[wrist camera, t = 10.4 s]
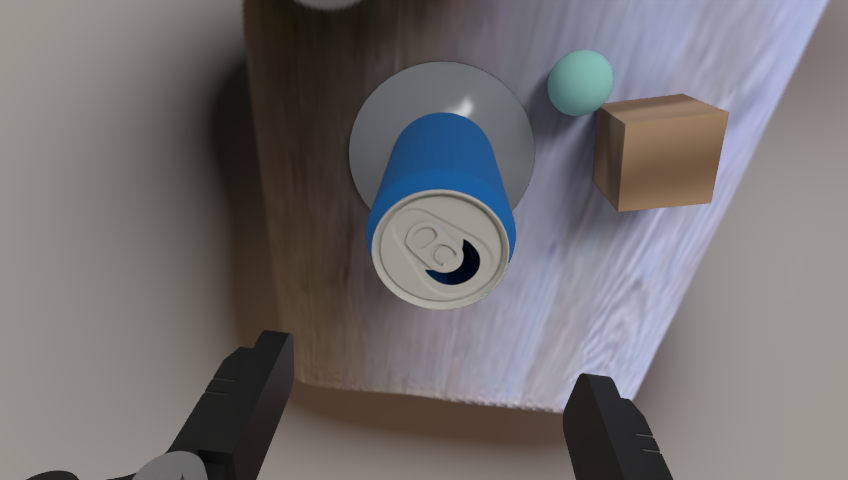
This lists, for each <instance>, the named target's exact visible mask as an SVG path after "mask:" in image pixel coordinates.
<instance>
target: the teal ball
mask: <svg viewBox="0 0 848 480" xmlns="http://www.w3.org/2000/svg"><path fill="white" fill-rule="evenodd" d="M613 82H614V77H613V71H612V68H611V66H610V64H609V62H608V61H607V60H606V59H605V58H604V57H603V56H602V55H600V54H599V53H597V52H594V51H590V50H578V51H574V52H571V53H569V54H567V55H566V56H564V57H563V58H561V59H560V60H559V61H558V62H557V63H556V64H555V66H554V67H553V69H552V71H551V73H550V75H549V78H548V86H547V87H548V95H549V98H550V100H551V102H552V104H553V105H554V106H555V107H556V108H557V109H558V110H559V111H561V112H562V113H564V114H567V115H571V116H583V115H587V114H590V113H592V112H594V111H596V110H597V109H599V108H600V107H601V106H602V105H603V104H604V103H605V102H606V100H607V99H608V97H609V96H610V94H611V91H612V88H613Z"/></svg>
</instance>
